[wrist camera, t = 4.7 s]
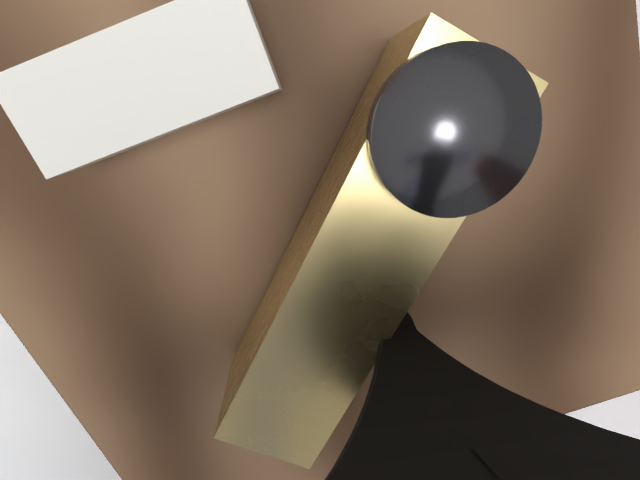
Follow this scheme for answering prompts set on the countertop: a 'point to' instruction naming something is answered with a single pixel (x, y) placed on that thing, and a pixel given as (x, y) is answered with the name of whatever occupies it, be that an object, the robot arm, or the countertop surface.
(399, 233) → the bar
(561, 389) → the plate
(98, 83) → the white rectangular block
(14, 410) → the countertop surface
